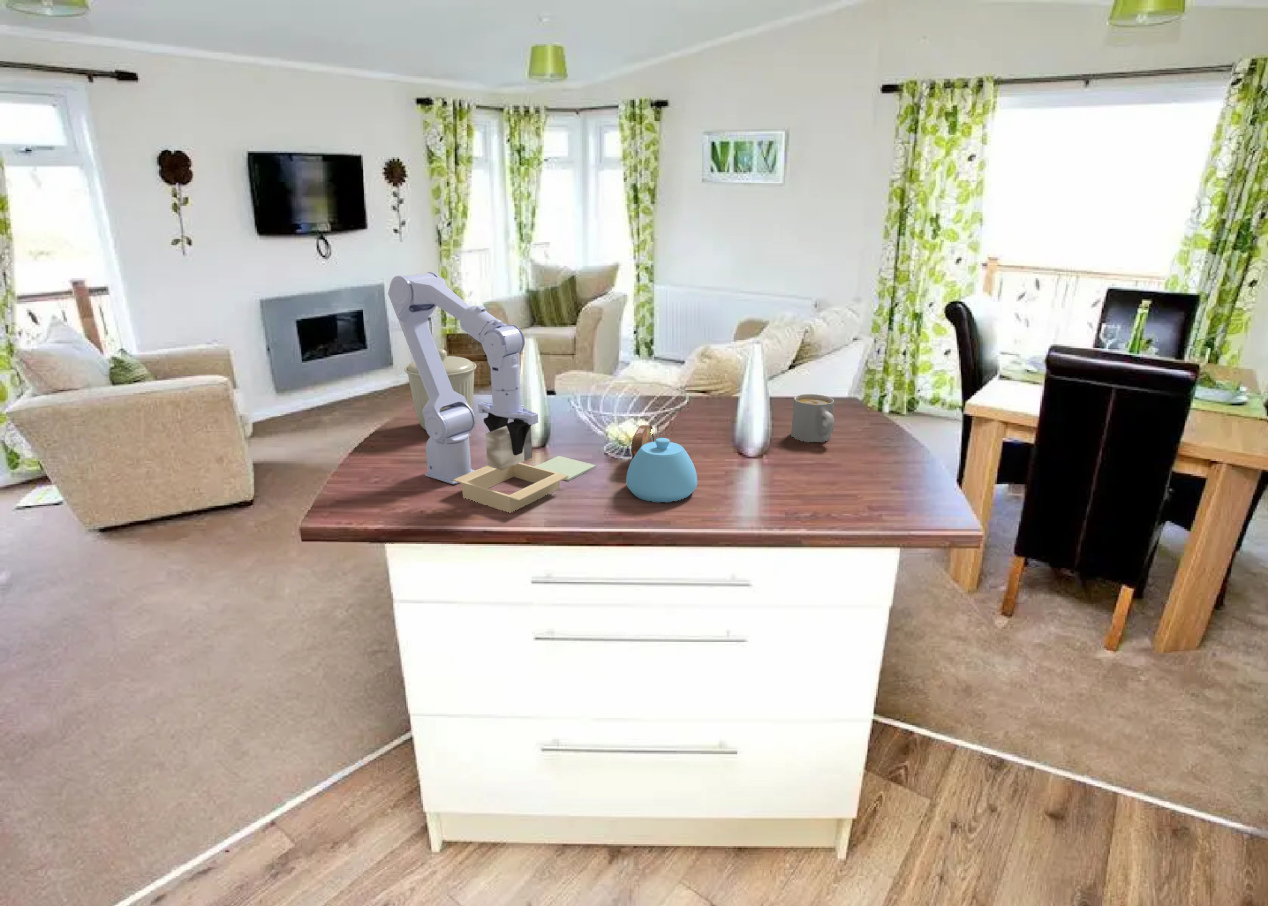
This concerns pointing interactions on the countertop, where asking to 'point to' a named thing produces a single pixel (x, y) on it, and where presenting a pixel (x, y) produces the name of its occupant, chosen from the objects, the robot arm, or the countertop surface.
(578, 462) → the mat
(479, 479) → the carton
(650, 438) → the tin
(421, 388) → the canister
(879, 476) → the countertop surface
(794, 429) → the coffee mug
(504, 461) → the box
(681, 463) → the sugar bowl
